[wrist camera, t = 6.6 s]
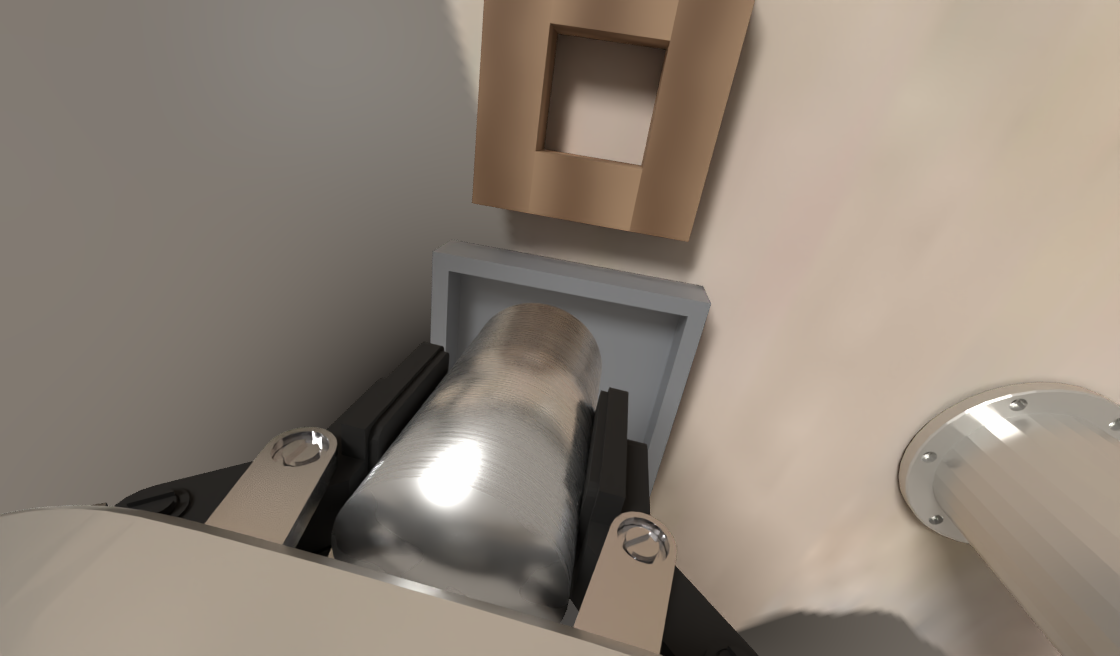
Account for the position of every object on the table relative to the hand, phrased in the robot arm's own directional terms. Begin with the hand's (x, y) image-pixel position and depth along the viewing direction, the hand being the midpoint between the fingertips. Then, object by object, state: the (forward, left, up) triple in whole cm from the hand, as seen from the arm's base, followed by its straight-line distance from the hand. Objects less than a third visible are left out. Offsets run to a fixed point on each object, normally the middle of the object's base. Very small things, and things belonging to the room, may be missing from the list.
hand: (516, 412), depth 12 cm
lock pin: (0, 0, -3) cm, 3 cm away
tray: (0, +8, -17) cm, 18 cm away
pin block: (0, -9, -17) cm, 19 cm away
